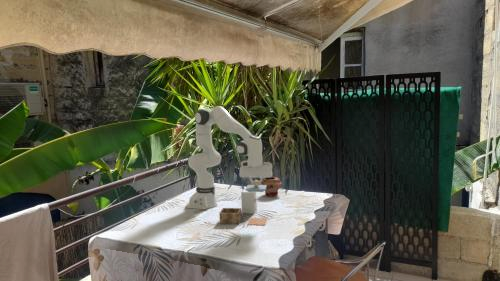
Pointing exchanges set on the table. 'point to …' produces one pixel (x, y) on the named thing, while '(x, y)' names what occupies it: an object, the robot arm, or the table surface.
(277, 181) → the decorative planter
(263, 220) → the coaster
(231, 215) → the walnut box
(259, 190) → the lid
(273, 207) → the table surface
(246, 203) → the supplement box
